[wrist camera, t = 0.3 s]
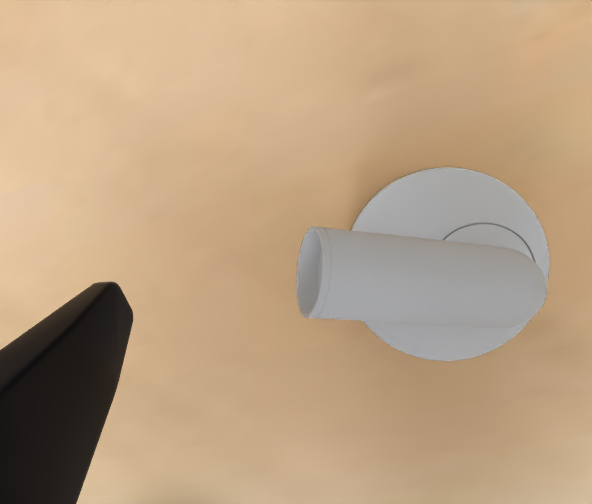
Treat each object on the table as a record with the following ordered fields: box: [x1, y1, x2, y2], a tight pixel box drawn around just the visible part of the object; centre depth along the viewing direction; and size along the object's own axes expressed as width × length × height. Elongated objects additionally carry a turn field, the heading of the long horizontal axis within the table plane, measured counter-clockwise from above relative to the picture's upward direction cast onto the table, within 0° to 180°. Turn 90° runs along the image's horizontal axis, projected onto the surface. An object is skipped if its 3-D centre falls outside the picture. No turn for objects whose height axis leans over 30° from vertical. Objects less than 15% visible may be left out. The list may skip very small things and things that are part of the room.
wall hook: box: [296, 167, 549, 361], centre depth 18 cm, size 9×10×10 cm
